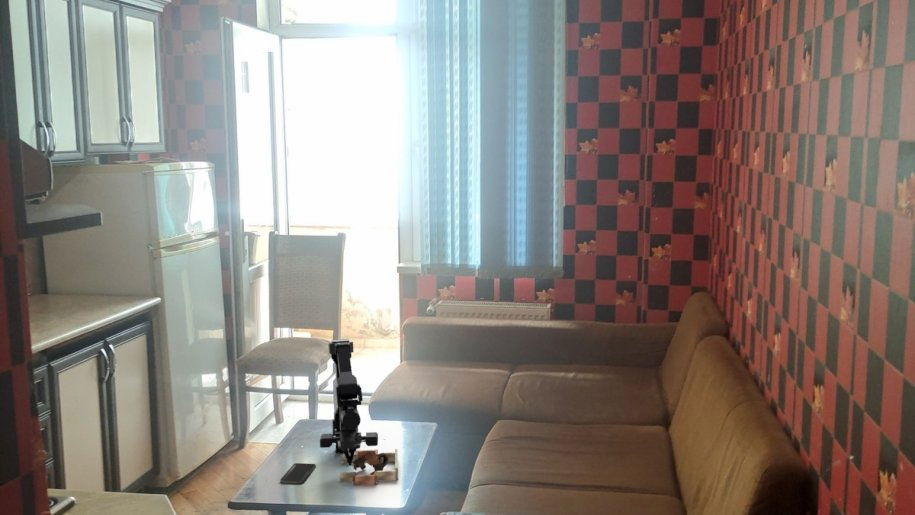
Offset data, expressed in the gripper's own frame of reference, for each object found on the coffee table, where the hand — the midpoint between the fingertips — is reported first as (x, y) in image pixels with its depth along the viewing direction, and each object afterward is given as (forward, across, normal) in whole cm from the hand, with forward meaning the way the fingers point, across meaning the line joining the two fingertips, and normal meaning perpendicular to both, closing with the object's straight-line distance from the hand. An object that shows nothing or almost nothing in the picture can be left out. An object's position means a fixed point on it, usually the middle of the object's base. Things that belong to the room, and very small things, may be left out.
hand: (349, 464), depth 271 cm
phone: (+3, -17, 0) cm, 17 cm away
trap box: (+2, +7, 0) cm, 7 cm away
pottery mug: (+3, +7, -2) cm, 8 cm away
